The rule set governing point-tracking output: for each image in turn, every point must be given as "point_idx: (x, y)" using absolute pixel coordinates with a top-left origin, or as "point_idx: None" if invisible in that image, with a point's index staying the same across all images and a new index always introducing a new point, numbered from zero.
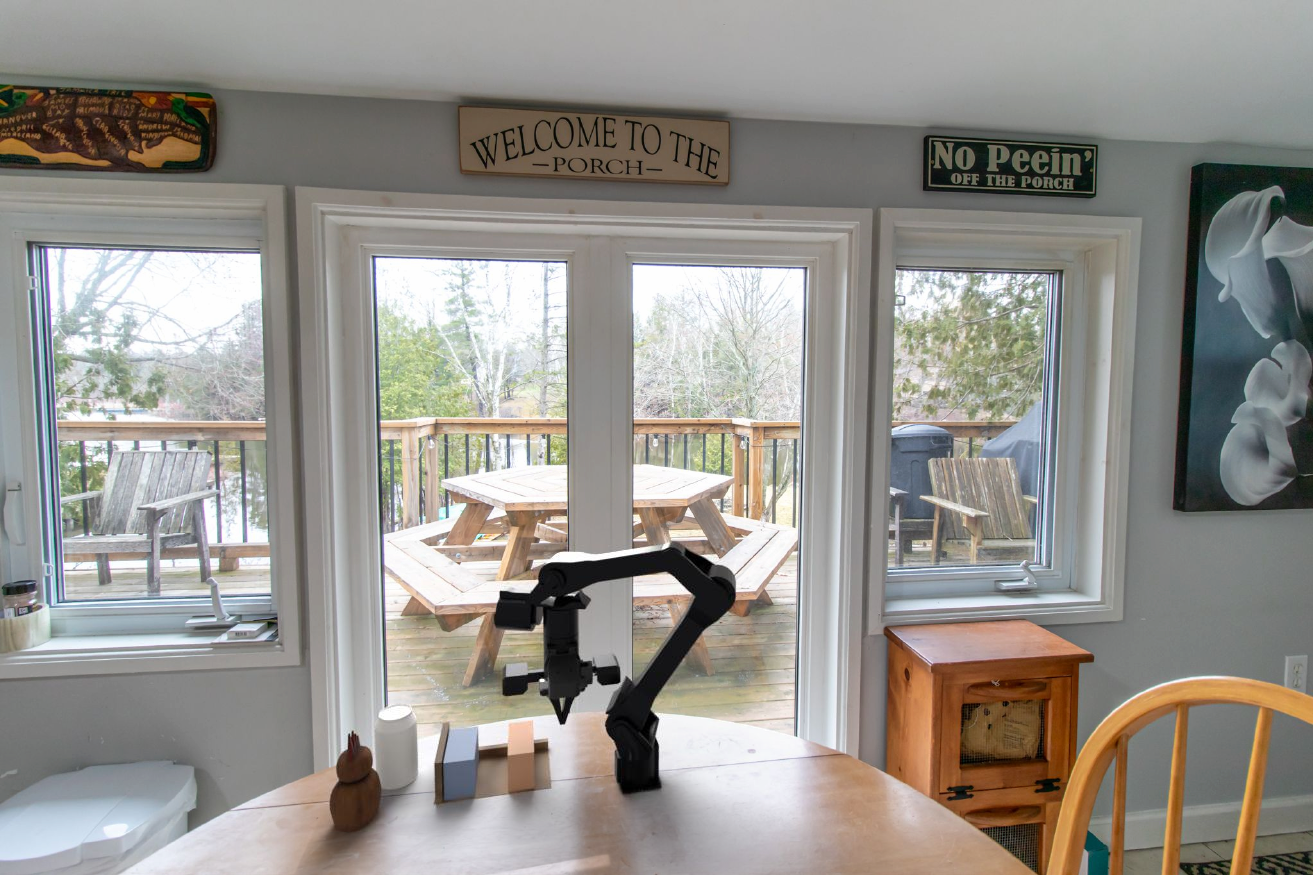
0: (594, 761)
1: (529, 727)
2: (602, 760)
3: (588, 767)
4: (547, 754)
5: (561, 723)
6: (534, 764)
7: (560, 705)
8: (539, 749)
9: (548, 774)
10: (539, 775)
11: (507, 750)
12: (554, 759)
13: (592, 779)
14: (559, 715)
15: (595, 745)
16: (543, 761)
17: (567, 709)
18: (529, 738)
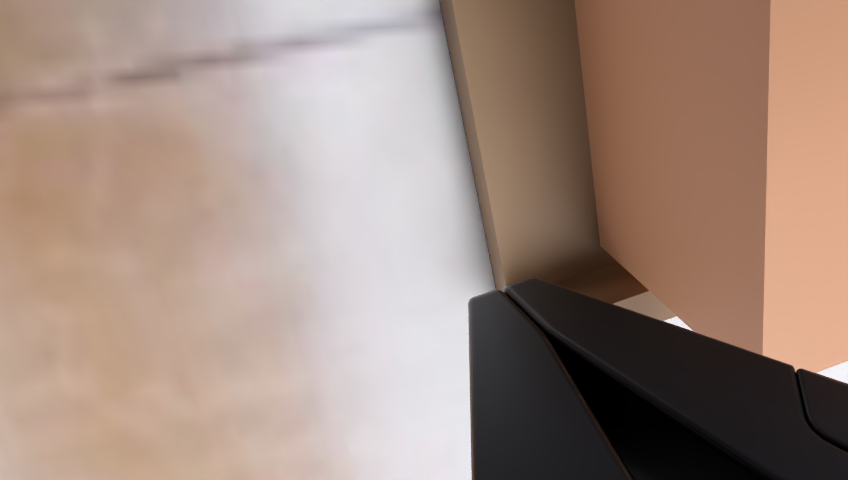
0: (152, 260)
1: (794, 289)
2: (90, 278)
3: (181, 189)
4: (507, 250)
5: (522, 287)
6: (583, 135)
7: (724, 452)
8: (567, 284)
9: (471, 26)
10: (536, 9)
11: None
12: (448, 245)
13: (106, 48)
14: (616, 332)
15: (192, 419)
16: (525, 174)
17: (524, 434)
18: (806, 105)
